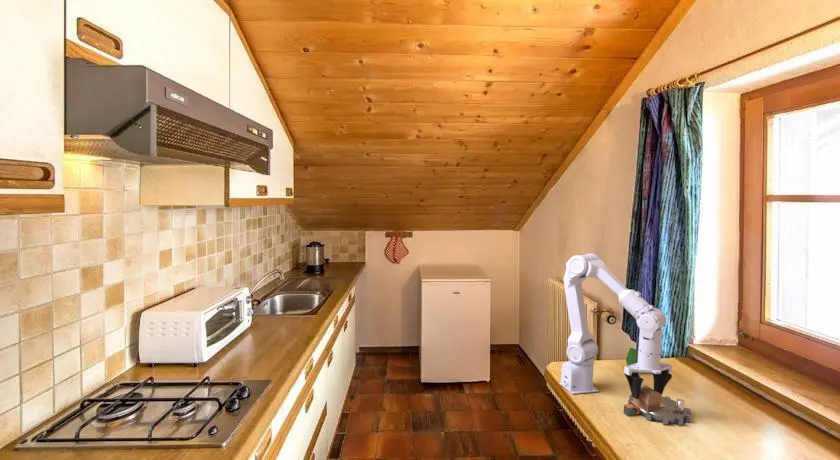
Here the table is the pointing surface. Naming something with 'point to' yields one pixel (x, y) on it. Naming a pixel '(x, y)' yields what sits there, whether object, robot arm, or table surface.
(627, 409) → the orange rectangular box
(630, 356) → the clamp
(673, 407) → the sprocket disc
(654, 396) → the link block
